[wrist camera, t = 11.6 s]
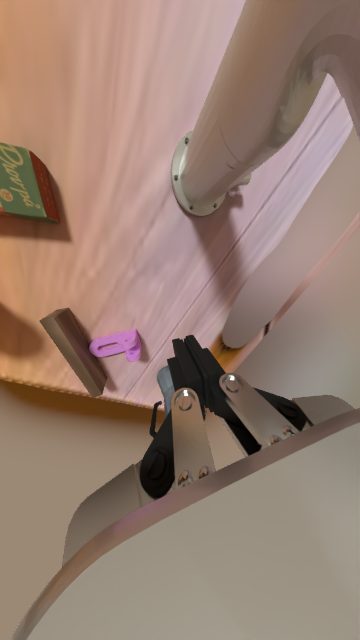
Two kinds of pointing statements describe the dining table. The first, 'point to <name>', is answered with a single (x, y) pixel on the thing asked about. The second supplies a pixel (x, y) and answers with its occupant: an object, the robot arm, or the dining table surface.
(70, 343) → the walnut board
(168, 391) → the moka pot
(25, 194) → the carton
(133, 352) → the bracket
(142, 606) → the robot arm
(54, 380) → the dining table surface
